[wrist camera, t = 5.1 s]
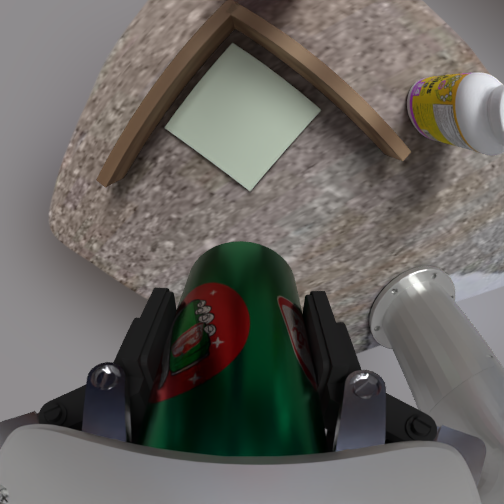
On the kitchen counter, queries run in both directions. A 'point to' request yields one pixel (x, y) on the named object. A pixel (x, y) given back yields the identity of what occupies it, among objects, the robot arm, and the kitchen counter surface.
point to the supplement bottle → (460, 111)
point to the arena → (271, 40)
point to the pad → (242, 116)
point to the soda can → (236, 363)
